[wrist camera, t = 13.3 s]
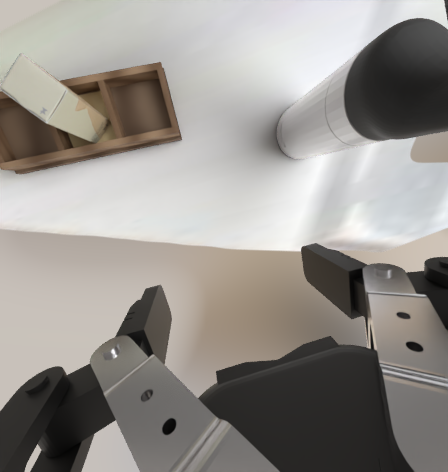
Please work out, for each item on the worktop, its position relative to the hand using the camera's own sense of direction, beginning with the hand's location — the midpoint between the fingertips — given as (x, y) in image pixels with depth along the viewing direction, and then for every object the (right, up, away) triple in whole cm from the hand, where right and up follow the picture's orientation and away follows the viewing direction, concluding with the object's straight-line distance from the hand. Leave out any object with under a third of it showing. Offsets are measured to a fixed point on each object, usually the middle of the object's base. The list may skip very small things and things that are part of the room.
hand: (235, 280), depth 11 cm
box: (-21, +20, +20) cm, 35 cm away
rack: (-21, +20, +21) cm, 36 cm away
